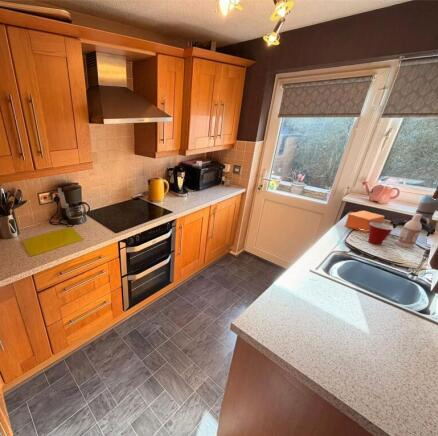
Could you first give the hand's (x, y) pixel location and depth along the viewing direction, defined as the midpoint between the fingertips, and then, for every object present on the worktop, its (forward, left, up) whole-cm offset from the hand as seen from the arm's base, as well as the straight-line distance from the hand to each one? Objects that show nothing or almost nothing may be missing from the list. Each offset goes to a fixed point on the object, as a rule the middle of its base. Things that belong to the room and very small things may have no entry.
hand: (410, 230), depth 134 cm
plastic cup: (-4, +12, -11) cm, 17 cm away
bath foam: (+3, -1, -11) cm, 12 cm away
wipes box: (+22, +19, -11) cm, 31 cm away
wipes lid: (+22, +19, -2) cm, 29 cm away
